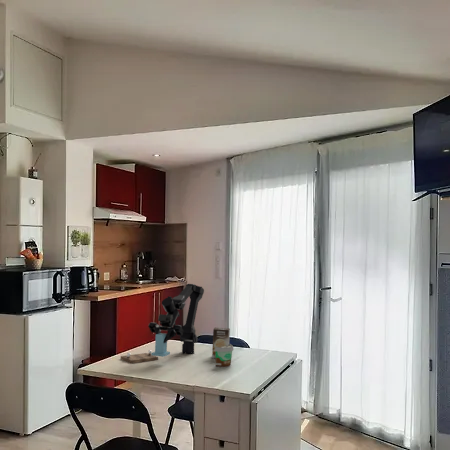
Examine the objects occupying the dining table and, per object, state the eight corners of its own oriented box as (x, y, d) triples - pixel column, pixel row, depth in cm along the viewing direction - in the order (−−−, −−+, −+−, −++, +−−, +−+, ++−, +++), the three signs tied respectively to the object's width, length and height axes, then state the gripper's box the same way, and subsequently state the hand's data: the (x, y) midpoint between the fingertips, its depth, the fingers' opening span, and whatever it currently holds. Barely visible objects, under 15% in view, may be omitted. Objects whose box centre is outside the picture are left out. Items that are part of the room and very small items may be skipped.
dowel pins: (150, 354, 267) (150, 350, 267) (151, 355, 266) (152, 350, 266) (126, 357, 258) (126, 353, 258) (128, 358, 256) (128, 353, 257)
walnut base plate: (146, 355, 271) (146, 352, 271) (158, 359, 262) (158, 357, 262) (120, 359, 261) (120, 356, 261) (131, 363, 252) (131, 360, 252)
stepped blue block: (158, 352, 257) (158, 332, 258) (169, 354, 255) (170, 333, 255) (151, 355, 251) (152, 334, 251) (163, 356, 248) (164, 335, 249)
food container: (223, 368, 248) (224, 348, 248) (214, 366, 251) (214, 346, 252) (237, 364, 257) (238, 345, 258) (228, 362, 261) (229, 343, 262)
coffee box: (211, 358, 270) (212, 329, 271) (212, 355, 277) (213, 327, 278) (228, 359, 269) (229, 329, 270) (229, 356, 276) (230, 328, 277)
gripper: (150, 307, 261) (138, 330, 250) (182, 309, 254) (171, 334, 243) (157, 320, 268) (146, 343, 257) (188, 323, 261) (177, 347, 250)
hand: (159, 342), depth 252 cm, fingers closed on stepped blue block, 4 cm apart
